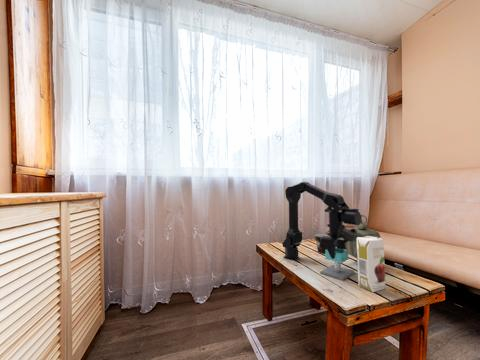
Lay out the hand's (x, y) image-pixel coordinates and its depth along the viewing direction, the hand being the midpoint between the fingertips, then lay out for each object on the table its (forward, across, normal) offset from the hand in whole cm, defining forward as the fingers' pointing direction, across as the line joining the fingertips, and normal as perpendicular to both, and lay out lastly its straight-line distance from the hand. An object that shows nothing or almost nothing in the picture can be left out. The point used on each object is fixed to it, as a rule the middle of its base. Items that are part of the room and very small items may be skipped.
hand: (336, 256), depth 96 cm
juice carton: (+8, -4, -15) cm, 17 cm away
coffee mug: (+8, +27, +21) cm, 35 cm away
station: (+7, 0, 0) cm, 7 cm away
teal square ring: (+1, 0, 0) cm, 1 cm away
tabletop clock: (+8, +19, -4) cm, 21 cm away
